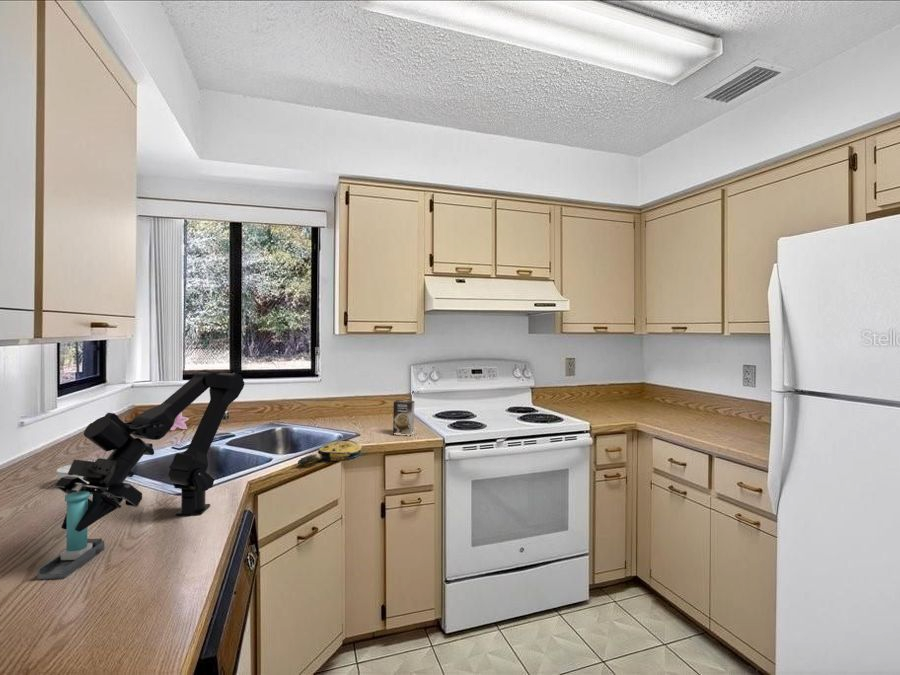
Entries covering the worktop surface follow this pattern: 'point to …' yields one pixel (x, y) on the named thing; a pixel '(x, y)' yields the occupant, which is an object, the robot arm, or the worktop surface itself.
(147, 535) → the worktop surface
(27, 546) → the worktop surface
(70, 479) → the robot arm
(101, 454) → the worktop surface
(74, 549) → the teal tall cylinder
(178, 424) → the lily
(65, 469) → the ramekin
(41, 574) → the track
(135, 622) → the worktop surface
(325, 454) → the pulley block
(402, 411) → the coffee box
